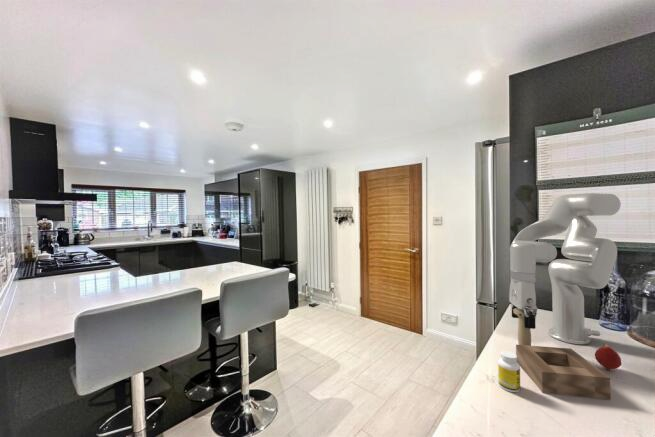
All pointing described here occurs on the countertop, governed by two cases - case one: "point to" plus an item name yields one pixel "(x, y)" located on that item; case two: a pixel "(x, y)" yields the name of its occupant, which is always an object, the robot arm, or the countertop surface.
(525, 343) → the handle
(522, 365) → the well block
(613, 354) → the onion
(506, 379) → the supplement bottle
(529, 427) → the countertop surface
